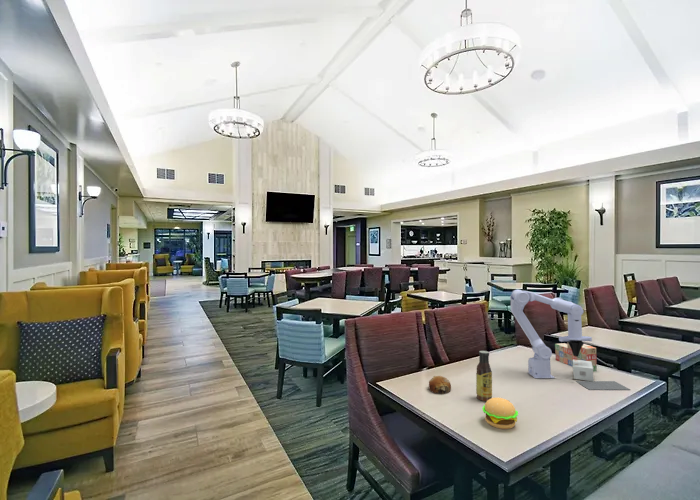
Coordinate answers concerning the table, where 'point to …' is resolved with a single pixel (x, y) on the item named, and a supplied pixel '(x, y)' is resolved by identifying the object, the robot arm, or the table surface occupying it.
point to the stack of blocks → (567, 357)
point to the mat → (602, 385)
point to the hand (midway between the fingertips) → (575, 355)
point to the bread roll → (439, 385)
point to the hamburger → (500, 413)
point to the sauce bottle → (484, 377)
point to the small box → (583, 370)
